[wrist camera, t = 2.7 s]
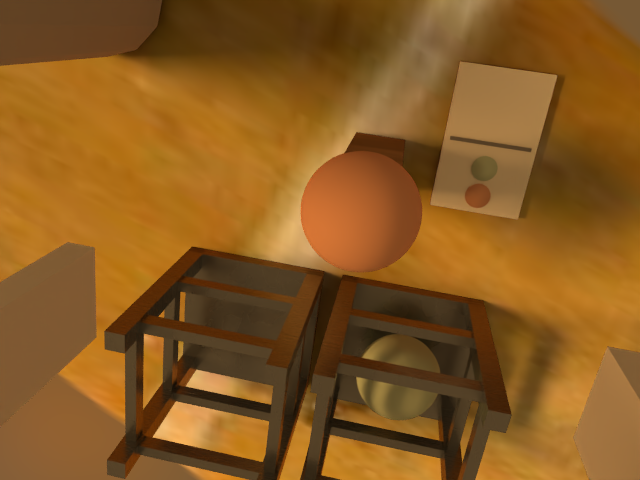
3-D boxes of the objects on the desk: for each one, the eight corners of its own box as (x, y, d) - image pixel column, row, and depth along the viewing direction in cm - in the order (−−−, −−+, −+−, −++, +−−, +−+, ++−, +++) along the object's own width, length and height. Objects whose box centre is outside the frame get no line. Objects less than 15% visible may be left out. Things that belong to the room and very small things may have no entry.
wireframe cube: (192, 246, 36) (104, 331, 26) (324, 271, 35) (287, 368, 25) (186, 360, 39) (107, 474, 29) (308, 385, 38) (269, 512, 28)
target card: (460, 61, 30) (460, 61, 29) (555, 74, 29) (557, 75, 29) (430, 202, 33) (430, 205, 32) (516, 217, 32) (517, 220, 32)
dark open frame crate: (343, 274, 35) (313, 373, 25) (483, 300, 34) (511, 414, 24) (325, 388, 38) (292, 517, 28) (452, 415, 37) (466, 558, 27)
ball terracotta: (319, 132, 25) (297, 155, 20) (431, 150, 24) (435, 178, 20) (305, 236, 27) (282, 279, 22) (410, 254, 26) (409, 303, 21)
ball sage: (366, 312, 35) (359, 355, 30) (446, 327, 34) (451, 373, 30) (355, 378, 37) (346, 428, 32) (430, 393, 36) (432, 447, 32)
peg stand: (356, 132, 32) (339, 161, 25) (405, 140, 32) (402, 171, 25) (349, 179, 33) (331, 219, 26) (396, 187, 33) (390, 230, 26)
